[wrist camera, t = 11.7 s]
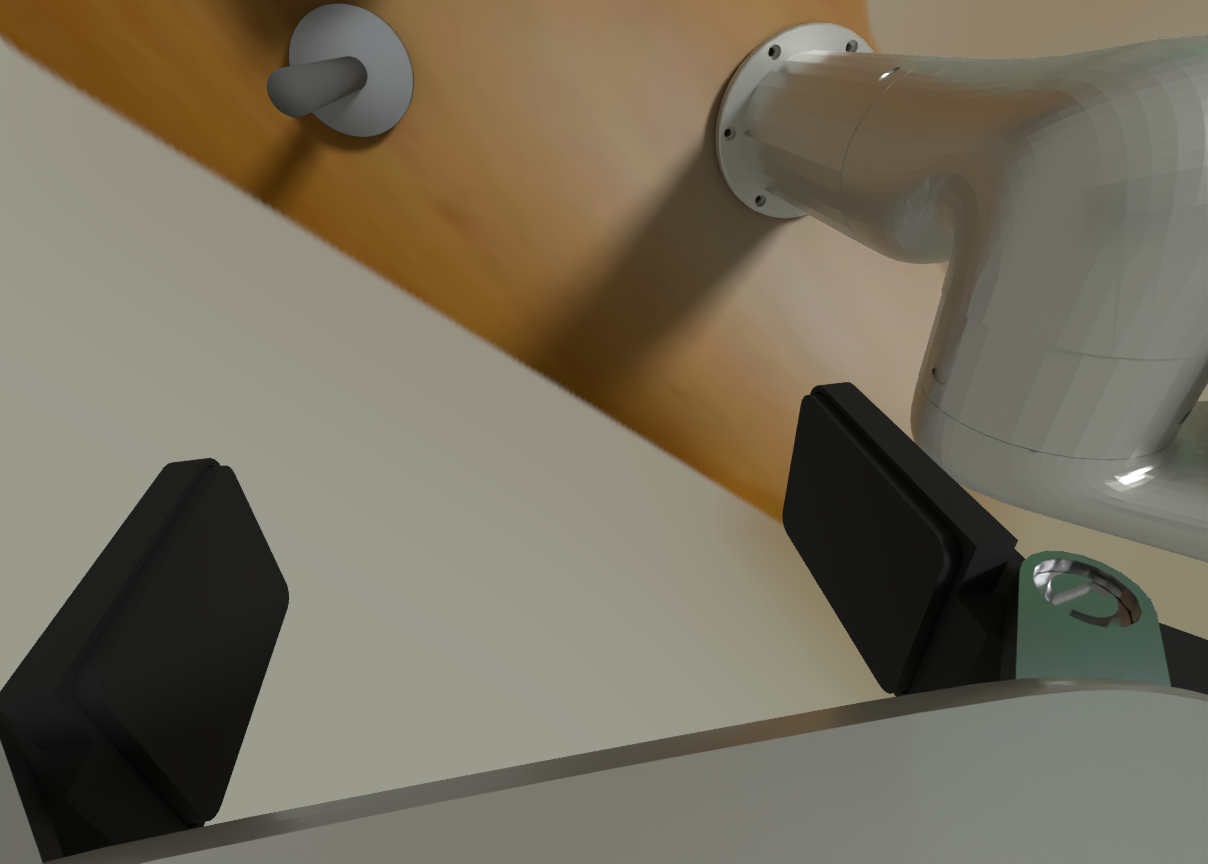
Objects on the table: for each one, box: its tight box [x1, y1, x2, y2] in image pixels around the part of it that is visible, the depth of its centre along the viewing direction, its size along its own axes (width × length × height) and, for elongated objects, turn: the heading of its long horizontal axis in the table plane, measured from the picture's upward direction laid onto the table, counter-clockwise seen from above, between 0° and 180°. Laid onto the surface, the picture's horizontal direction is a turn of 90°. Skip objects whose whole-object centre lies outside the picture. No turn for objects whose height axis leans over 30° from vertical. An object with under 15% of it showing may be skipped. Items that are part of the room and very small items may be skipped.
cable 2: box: [267, 3, 414, 137], centre depth 32 cm, size 7×7×16 cm
